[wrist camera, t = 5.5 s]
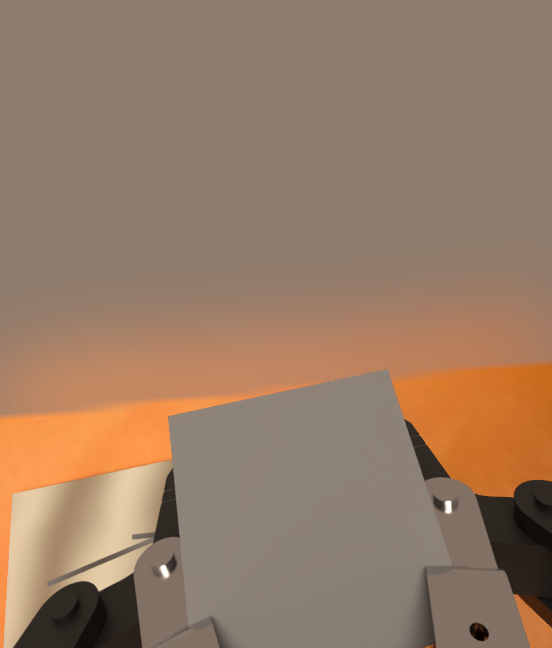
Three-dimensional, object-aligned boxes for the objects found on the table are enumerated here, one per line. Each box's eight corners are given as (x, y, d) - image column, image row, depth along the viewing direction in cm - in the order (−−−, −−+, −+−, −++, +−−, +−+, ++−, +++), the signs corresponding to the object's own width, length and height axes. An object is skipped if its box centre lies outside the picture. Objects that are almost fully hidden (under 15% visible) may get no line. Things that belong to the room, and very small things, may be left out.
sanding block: (344, 441, 18) (389, 366, 9) (376, 564, 16) (479, 637, 7) (236, 465, 17) (165, 414, 8) (256, 592, 16) (192, 705, 6)
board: (324, 430, 31) (325, 426, 29) (363, 586, 27) (366, 590, 25) (25, 494, 30) (12, 493, 29) (17, 665, 26) (1, 674, 25)
